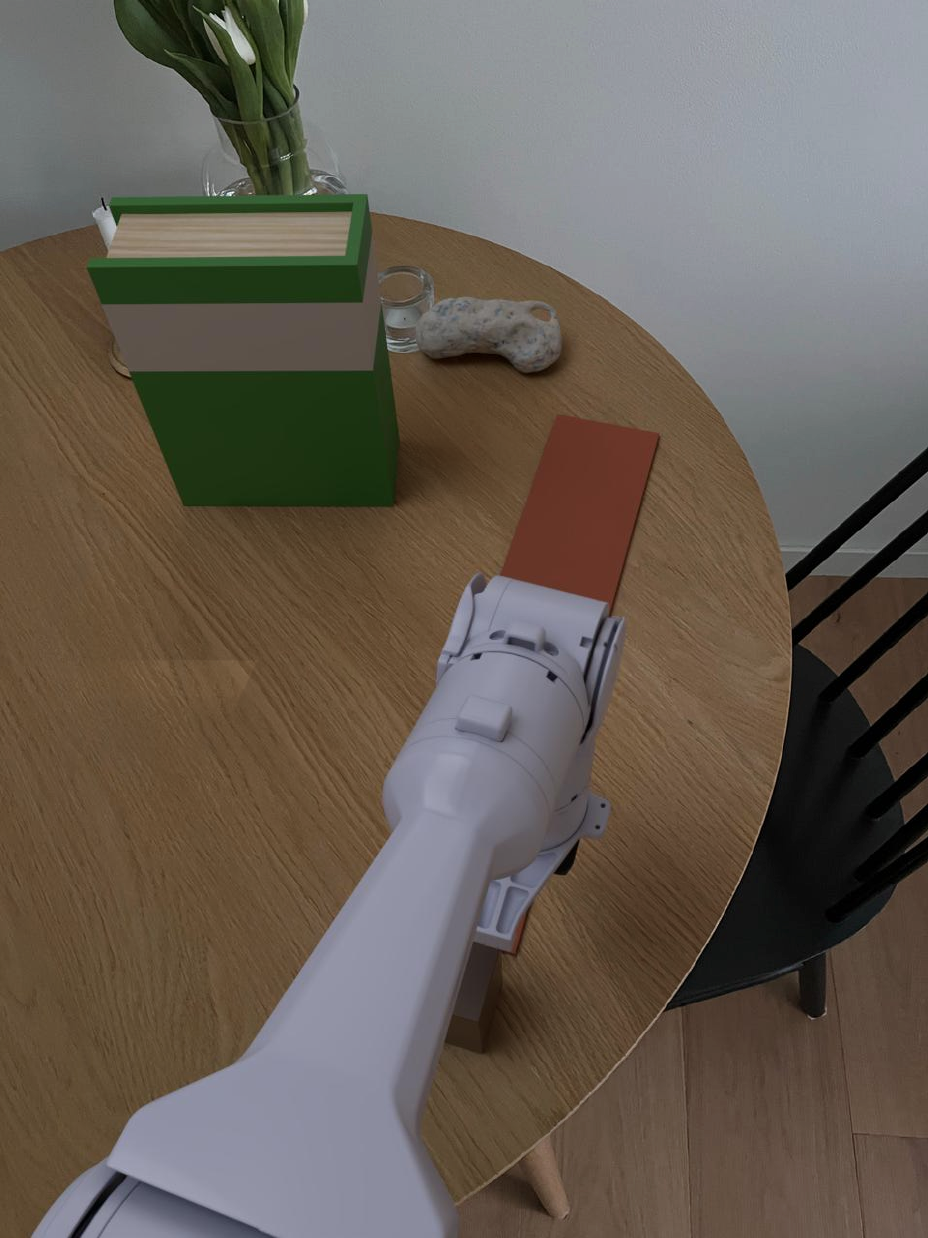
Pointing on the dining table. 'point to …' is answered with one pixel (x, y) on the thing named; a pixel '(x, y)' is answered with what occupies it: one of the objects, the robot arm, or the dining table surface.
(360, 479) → the hardback book
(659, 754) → the dining table surface
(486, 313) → the decorative stone
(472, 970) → the walnut block
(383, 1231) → the robot arm
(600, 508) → the terracotta mat
